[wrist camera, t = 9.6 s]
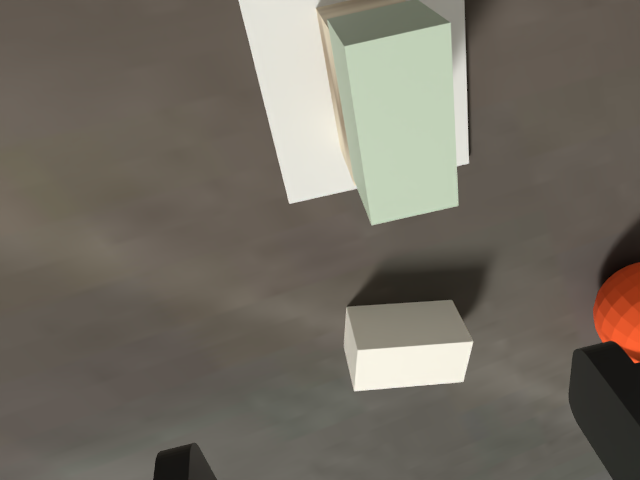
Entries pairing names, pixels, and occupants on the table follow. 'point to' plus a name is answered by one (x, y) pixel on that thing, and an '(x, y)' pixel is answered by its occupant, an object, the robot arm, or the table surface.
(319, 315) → the table surface
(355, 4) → the birch brick
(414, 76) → the sage brick
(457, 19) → the mat
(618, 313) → the clementine
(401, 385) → the cream brick
